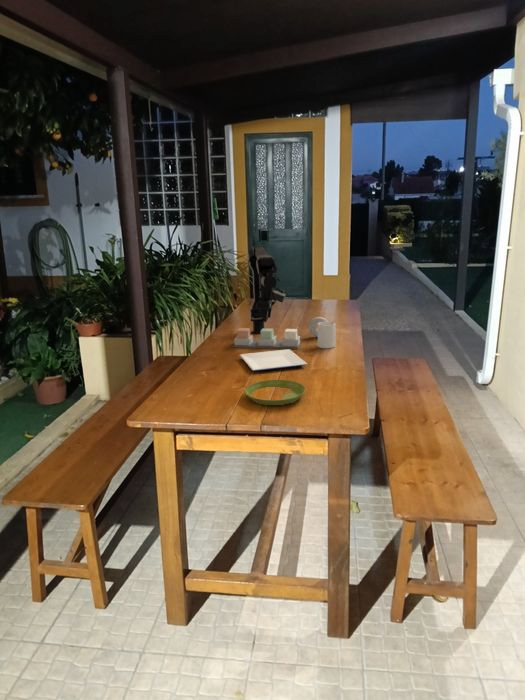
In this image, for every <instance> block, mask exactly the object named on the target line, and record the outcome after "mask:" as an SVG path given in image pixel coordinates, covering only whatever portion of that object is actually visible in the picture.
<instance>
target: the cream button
mask: <svg viewBox="0 0 525 700" xmlns="http://www.w3.org/2000/svg"><path fill="white" fill-rule="evenodd" d="M284 336H285V339H294V340H296V339H297V336H298V328H285V330H284Z"/></svg>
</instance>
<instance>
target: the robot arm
mask: <svg viewBox="0 0 525 700" xmlns="http://www.w3.org/2000/svg"><path fill="white" fill-rule="evenodd" d="M246 257H247V263H248V265H249V267H250V269H251V270H252V286H253V289H252V290H253V301H252V302H251V305H250V309H249V314H248V315H249V321H250V322H252V330H251V331H250V334H261V330H262V329H263V328H265V323H267V321H268V320H269V318H271V316H272V310H273V306H274V305H275V304H276V302H279V303H284V301H285V299H286V295H287V294H286V293H285V290H284V289H280V290H275V287H276V286H277V283H278V282H277V279H276V277H275V276H274V275H273V274H277V270H278V269H277V264H276V261H275V259H274V258H273V256H272V255H269V254H267V252H266V250H265V246H264V245H254V246H252V248H251V249H250V250H248V252H247V255H246Z"/></svg>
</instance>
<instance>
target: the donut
mask: <svg viewBox="0 0 525 700" xmlns="http://www.w3.org/2000/svg"><path fill="white" fill-rule="evenodd" d="M326 321H328V320H327V319H326V318H325V317H322V316H317V317H316V316H315V317H314V318H312V319H311V320H310V321H309V323H308V332H309V333H310V334H311V335H312V336H313V337H315V338H318V328H317V327H316V326H318V323H319V322H326Z"/></svg>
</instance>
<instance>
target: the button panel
mask: <svg viewBox="0 0 525 700" xmlns="http://www.w3.org/2000/svg"><path fill="white" fill-rule="evenodd" d="M300 345H301V336H300V335H297V339H296V340H294V339H285V335H284V336H283V338H282V339H281V340H277V335H274V337H273V339H261V335H260V336H259V337H258V339H256V340H254V335H253V334H250V337H249V338H248V339H246V338H237V336H235V338H234V345H233V348H234V347H236V348H237V347H238V349H239V348H240V349H241V348H242V349H243V348H244V349H271V348H276V349H277V348H280V349H279V350H286V349H290V350H298V349H299V347H300ZM282 348H283V349H282ZM277 350H278V349H277Z"/></svg>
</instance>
